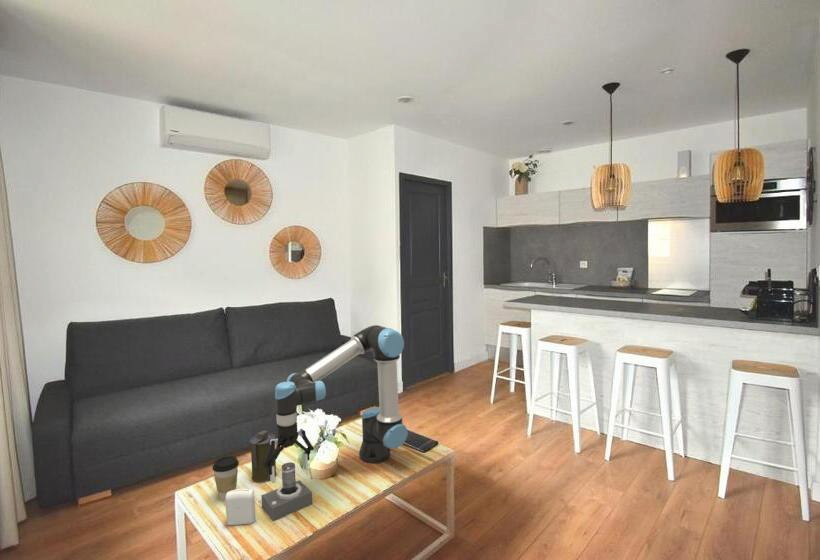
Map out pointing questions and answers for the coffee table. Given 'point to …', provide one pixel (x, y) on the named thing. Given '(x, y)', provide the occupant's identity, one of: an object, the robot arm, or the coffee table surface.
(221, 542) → the coffee table surface
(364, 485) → the coffee table surface
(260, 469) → the canister
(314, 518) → the coffee table surface
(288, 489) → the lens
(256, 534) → the coffee table surface
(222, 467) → the coffee cup
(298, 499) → the grey holder base
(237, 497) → the photo printer
